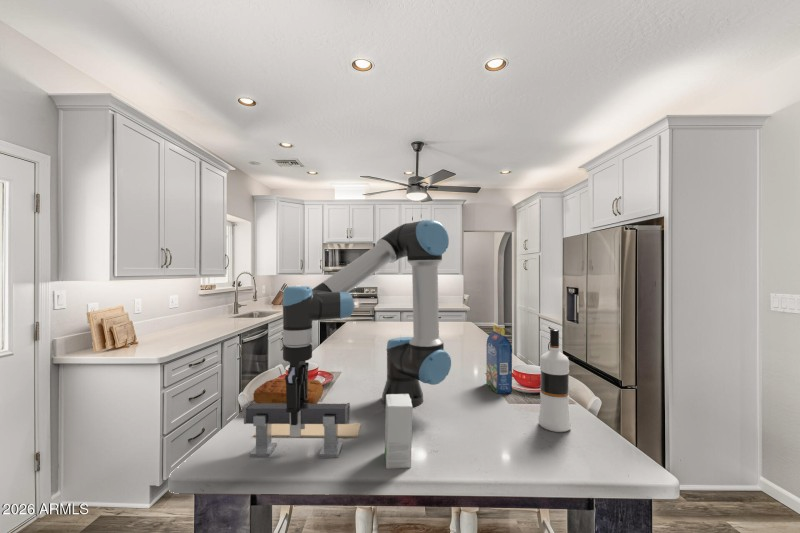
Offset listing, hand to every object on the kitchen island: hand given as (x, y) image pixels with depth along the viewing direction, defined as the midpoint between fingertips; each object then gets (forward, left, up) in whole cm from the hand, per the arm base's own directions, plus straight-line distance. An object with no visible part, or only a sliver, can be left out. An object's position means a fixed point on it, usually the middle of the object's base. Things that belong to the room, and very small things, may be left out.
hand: (297, 431), depth 96 cm
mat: (0, -12, -5) cm, 13 cm away
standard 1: (+9, 0, -5) cm, 10 cm away
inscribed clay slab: (+12, -32, -5) cm, 34 cm away
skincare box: (-27, +4, -5) cm, 28 cm away
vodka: (-75, -16, -5) cm, 77 cm away
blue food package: (-67, -51, -5) cm, 84 cm away
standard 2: (-9, 0, -5) cm, 10 cm away
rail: (0, 0, +3) cm, 3 cm away
